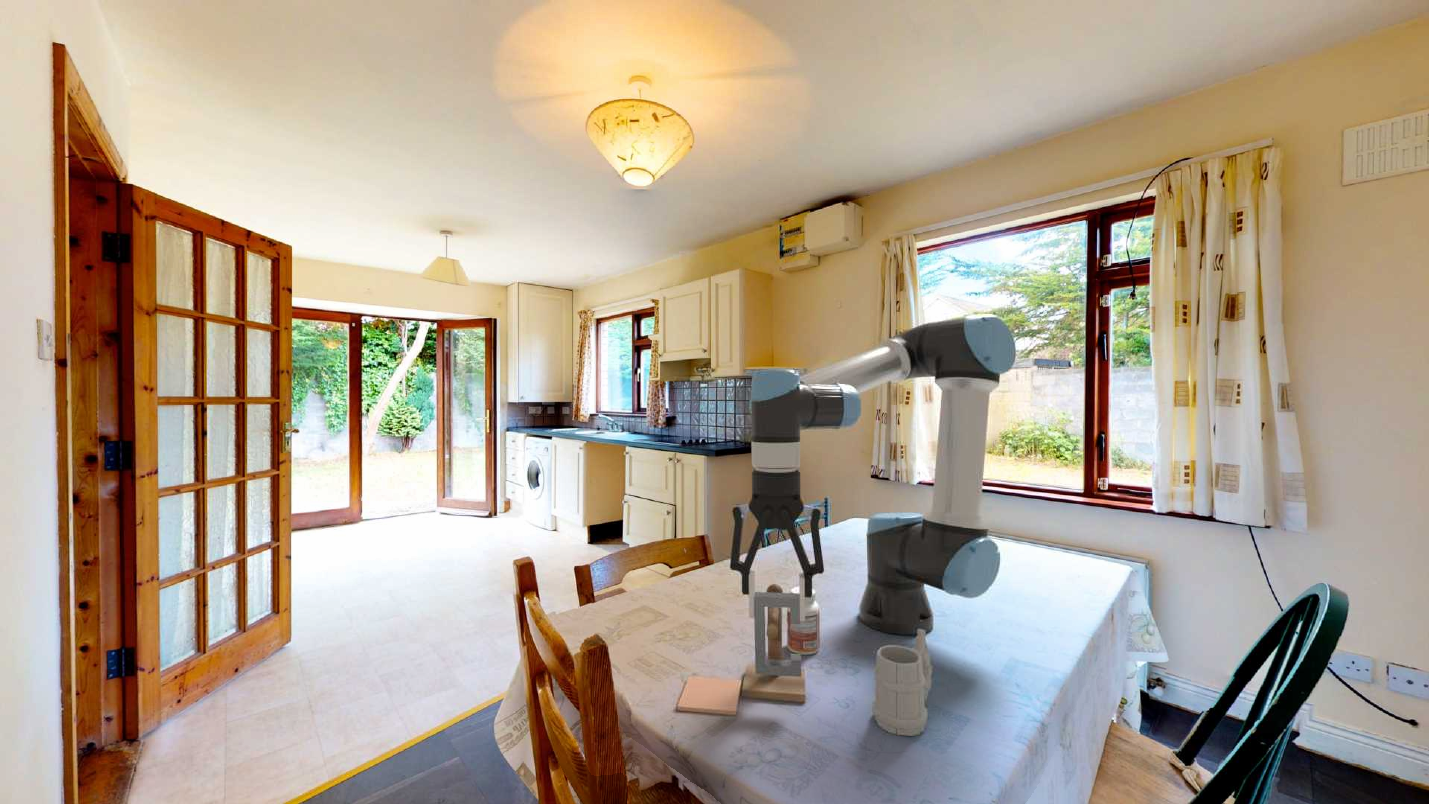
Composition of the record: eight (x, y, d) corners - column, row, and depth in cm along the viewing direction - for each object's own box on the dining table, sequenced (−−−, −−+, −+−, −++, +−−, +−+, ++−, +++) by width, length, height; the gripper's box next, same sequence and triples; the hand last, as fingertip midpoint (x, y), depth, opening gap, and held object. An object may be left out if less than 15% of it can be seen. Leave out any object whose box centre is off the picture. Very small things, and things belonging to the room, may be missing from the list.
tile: (741, 683, 87) (741, 680, 87) (735, 715, 79) (735, 711, 79) (688, 679, 89) (688, 676, 89) (677, 710, 80) (677, 706, 80)
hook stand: (746, 672, 91) (746, 579, 91) (804, 676, 90) (804, 582, 90) (738, 719, 78) (738, 610, 78) (806, 725, 76) (806, 614, 76)
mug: (861, 719, 78) (861, 638, 78) (906, 692, 85) (906, 618, 85) (907, 745, 72) (907, 657, 72) (952, 714, 79) (952, 634, 79)
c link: (801, 670, 82) (799, 593, 82) (801, 676, 80) (799, 598, 80) (756, 667, 83) (754, 592, 83) (755, 674, 81) (753, 596, 81)
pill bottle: (796, 638, 105) (795, 583, 105) (824, 646, 101) (824, 589, 101) (781, 650, 100) (781, 592, 100) (811, 659, 96) (811, 598, 96)
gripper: (839, 466, 84) (840, 610, 84) (716, 465, 87) (717, 603, 87) (843, 472, 76) (845, 630, 76) (708, 471, 79) (710, 622, 79)
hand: (777, 615), depth 81 cm, fingers closed on c link, 7 cm apart
